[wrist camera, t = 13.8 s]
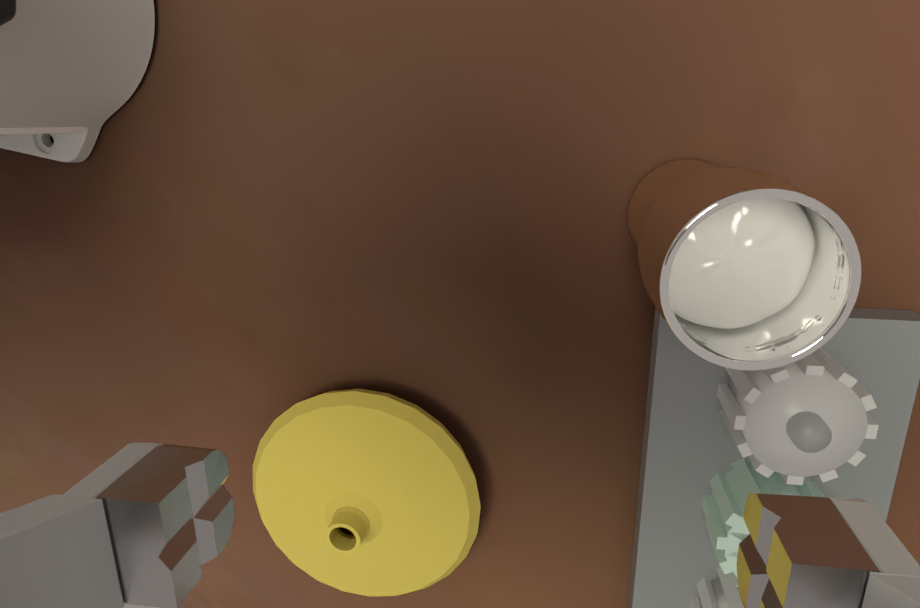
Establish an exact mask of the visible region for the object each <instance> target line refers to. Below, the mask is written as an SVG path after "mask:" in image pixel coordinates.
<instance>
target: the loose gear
mask: <svg viewBox="0 0 920 608" xmlns="http://www.w3.org/2000/svg"><path fill="white" fill-rule="evenodd" d="M731 465H732V467H733V469H734V470H733V471H730V472H728V473H727V474H726V475H725V476H722V475H721V474H719V473H716V474H715V475H714V477H713V478H712V479H711V480H710V481H709V483H710V486H711V488H712V495H703V498H702V505H701V506H702V509H703V512H704V515H705V518H706V519H704V521H705V524H706V527H707V530H708V533H709V536H710V539H711V542H712V545H713V548H714V551H715V554H716V557H717V560H718V563H719V565H720V567H721V569H722V570H723V572H724V574H728V573H732V576H733V578H734V581H735V584H736V586H737V587H738V584H737V556H738V548H739V543H740V542H741V541H742V540H744V539H745V538H746V537H747V536H748V535H749V534H750V533H749V530H748V528H747V526H746V523H745V521H744V519H743V514H744V508H745V502H746V500H747V498H748V495H749V493H758V494H776V495H794V496H812V497H825V495H824V494H823V492H822V491H821V489H820V488H819V486H818V485H817V483H816V482H815V480H814V481H811V479H810V478H809V476H806V477H804V481H803V485H793V484H786V482H785V480H784V479H783V477H782V475H781V474H780V473H778V472H776V471H774V472H773V474H772V475H771V476H770V477H769V478H767V477H765V476H763V475H762V474H760V473H758V472H757V471H755V469H754V467H753V465H752V463H751V464H749V465H747V463H746V461H745V459H744V458H743V459H741V460H738V461H735V462H733V463H731Z"/></svg>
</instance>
